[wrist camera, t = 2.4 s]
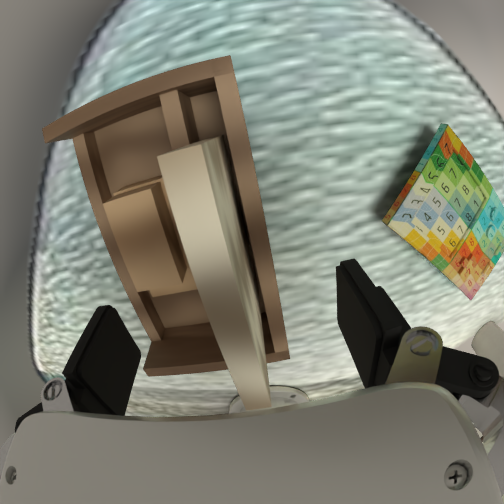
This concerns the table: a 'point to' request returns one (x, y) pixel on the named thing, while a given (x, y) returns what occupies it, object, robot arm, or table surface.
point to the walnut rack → (147, 166)
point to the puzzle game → (451, 213)
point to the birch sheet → (219, 259)
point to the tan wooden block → (149, 238)
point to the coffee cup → (490, 344)
